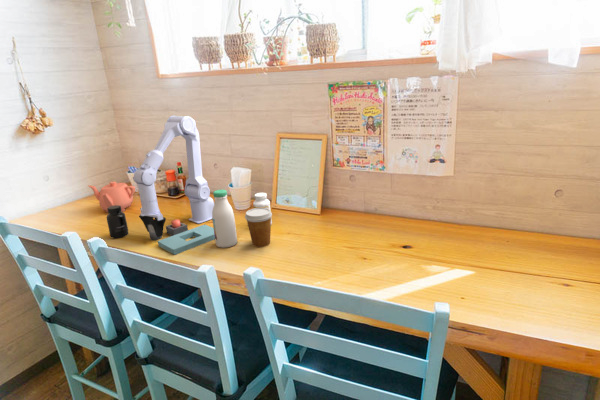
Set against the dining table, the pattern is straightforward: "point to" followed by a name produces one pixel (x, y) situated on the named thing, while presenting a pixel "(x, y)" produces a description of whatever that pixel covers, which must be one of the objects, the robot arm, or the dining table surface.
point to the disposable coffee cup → (259, 226)
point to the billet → (152, 233)
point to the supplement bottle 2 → (261, 201)
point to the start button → (175, 223)
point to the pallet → (179, 242)
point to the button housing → (176, 229)
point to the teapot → (114, 195)
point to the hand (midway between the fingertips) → (155, 233)
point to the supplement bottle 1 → (117, 222)
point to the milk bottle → (223, 220)
